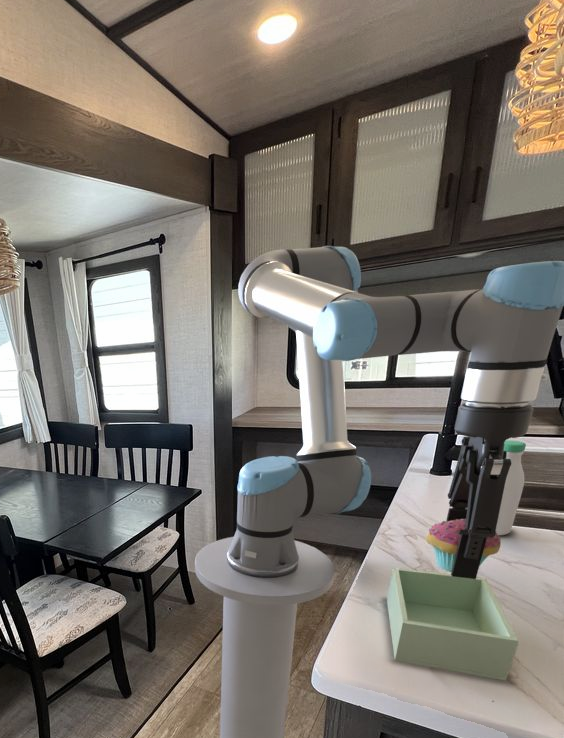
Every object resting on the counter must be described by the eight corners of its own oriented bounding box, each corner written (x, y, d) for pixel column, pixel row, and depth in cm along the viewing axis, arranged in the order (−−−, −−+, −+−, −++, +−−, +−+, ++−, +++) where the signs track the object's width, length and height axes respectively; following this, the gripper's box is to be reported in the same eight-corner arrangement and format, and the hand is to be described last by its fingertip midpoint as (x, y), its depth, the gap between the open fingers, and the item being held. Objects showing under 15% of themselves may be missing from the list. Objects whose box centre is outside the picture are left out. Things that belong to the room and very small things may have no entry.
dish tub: (386, 600, 83) (392, 567, 80) (476, 612, 78) (486, 578, 75) (394, 660, 69) (402, 622, 66) (505, 681, 63) (519, 641, 61)
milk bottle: (519, 534, 103) (546, 444, 95) (485, 537, 102) (510, 447, 94) (491, 521, 110) (514, 437, 102) (459, 524, 109) (480, 440, 101)
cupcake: (473, 554, 71) (493, 479, 67) (506, 582, 64) (531, 499, 59) (412, 554, 73) (427, 480, 68) (436, 580, 65) (455, 500, 60)
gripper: (567, 418, 49) (509, 603, 58) (509, 391, 66) (472, 536, 75) (479, 417, 52) (437, 593, 61) (446, 392, 69) (417, 531, 78)
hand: (456, 561), depth 68 cm, fingers closed on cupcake, 8 cm apart
